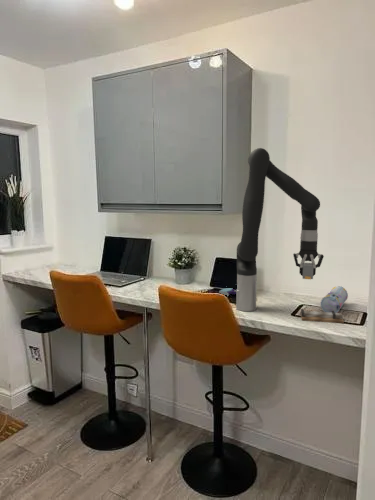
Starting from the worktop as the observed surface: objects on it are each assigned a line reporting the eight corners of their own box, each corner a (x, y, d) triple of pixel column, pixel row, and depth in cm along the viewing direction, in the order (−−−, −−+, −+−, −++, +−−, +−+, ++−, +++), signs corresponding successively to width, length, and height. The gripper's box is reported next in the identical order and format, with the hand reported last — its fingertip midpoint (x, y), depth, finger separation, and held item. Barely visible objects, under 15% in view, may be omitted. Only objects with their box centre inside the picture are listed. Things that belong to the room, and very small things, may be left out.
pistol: (218, 297, 199) (228, 290, 212) (244, 300, 192) (254, 293, 205) (217, 290, 199) (228, 283, 212) (244, 293, 191) (254, 286, 204)
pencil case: (339, 316, 164) (340, 295, 162) (319, 313, 168) (320, 293, 167) (348, 304, 181) (348, 286, 180) (329, 302, 186) (330, 284, 184)
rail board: (301, 320, 158) (301, 313, 158) (300, 314, 167) (300, 307, 167) (343, 323, 154) (343, 316, 154) (340, 316, 163) (340, 310, 162)
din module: (302, 279, 168) (303, 265, 167) (301, 275, 176) (302, 262, 175) (313, 279, 167) (313, 266, 166) (311, 275, 175) (312, 262, 174)
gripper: (293, 240, 167) (291, 276, 170) (326, 240, 164) (324, 278, 166) (292, 238, 175) (291, 273, 177) (324, 239, 171) (322, 274, 174)
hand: (307, 275), depth 172 cm, fingers closed on din module, 4 cm apart
